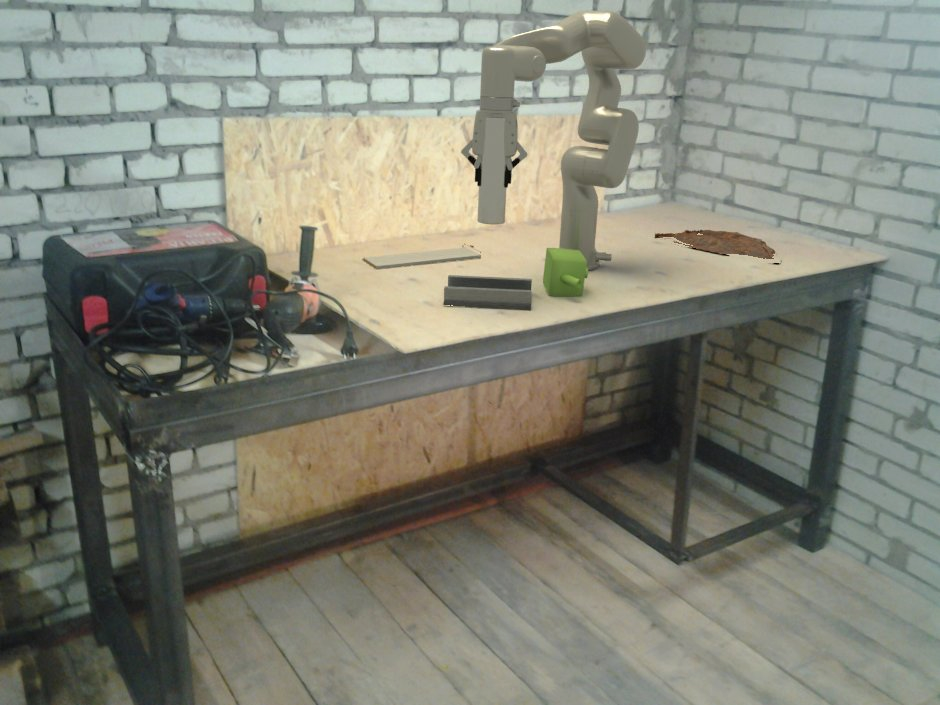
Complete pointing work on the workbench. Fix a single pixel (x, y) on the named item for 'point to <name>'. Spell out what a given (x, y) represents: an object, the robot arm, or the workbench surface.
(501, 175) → the tan metal cylinder
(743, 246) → the brown flat irregular piece
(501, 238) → the workbench surface
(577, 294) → the lime handled box
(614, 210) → the workbench surface
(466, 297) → the floor track
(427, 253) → the baseboard
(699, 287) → the workbench surface
